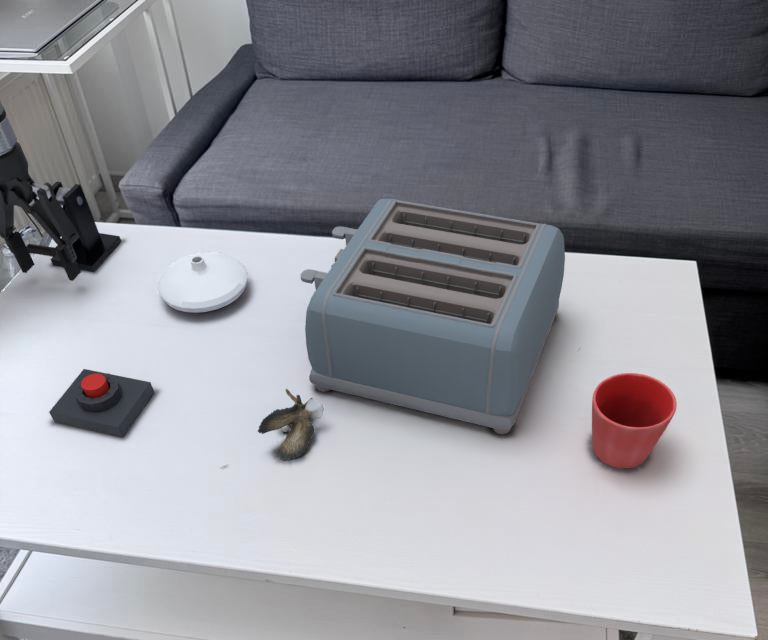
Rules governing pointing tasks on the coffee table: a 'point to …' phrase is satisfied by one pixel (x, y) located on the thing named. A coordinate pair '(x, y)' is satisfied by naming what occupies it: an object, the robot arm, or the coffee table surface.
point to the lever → (44, 244)
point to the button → (95, 385)
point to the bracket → (85, 231)
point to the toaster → (436, 311)
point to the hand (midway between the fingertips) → (51, 272)
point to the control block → (103, 404)
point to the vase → (202, 282)
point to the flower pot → (629, 418)
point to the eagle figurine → (293, 425)
